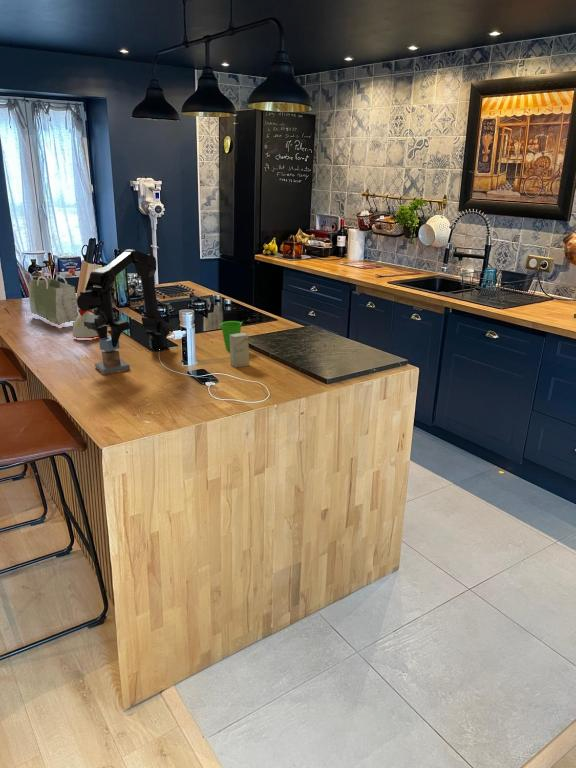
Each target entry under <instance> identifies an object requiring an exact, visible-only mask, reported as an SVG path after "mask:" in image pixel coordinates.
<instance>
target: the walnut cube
mask: <svg viewBox="0 0 576 768" xmlns="http://www.w3.org/2000/svg"><path fill="white" fill-rule="evenodd" d="M101 356H102V362H103V364H104V365H106V366H107V367H110V366H115V365H120V358H121V357H120V352H119V350H118V349H115V350H112V351H105V350H101Z"/></svg>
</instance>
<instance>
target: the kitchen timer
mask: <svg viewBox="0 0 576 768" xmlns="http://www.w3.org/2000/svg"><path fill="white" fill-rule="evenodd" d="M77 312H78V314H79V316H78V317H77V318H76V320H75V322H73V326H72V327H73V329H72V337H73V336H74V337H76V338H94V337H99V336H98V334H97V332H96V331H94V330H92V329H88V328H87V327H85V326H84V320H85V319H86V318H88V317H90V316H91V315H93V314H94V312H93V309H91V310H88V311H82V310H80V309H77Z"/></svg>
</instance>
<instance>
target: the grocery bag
mask: <svg viewBox="0 0 576 768" xmlns="http://www.w3.org/2000/svg"><path fill="white" fill-rule="evenodd" d="M58 278H61V279H63V281H64V282H61V281H59V280H58ZM40 279H41V280H40ZM28 281H29V282H28V297H29V306H30V307H29V308H30V312H31V314H32V313H34V314H37V315H39V316H41V317H43V318H46V319H47V320H49V321H50V322H53V323H55V324H58V325H60V324H62V323H65V322H70V321H75V320H76V318H77V317H78V316H79V314H80V313H79V311H78V305H77V299H78V298H77V294H76V293H77V292H76V287H75V286H74V285H71V284H68V281H67V280H66V279H65V277H64V276H63V275H60V274H57V275H56V276H55V279H54V278H49V277H45V276H43V275H40V276H38V278H37V279H30V278H29V280H28Z"/></svg>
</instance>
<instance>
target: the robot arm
mask: <svg viewBox="0 0 576 768" xmlns="http://www.w3.org/2000/svg"><path fill="white" fill-rule="evenodd" d="M130 265H134V266H133V267H134V268H135V272H136V273H137V274H138V276H139V277H140V279H141V280H140V281H141V287H142V288H141V289H142V295H143V302H144V308H145V314H144V315H143V316H141V322H142V327H143V330H145V335H147V336H149V338H148V341H149V342H148V343H149V345H148V346H149V347H150V348H151V349H150V348H149V349H150V350H152V351H153V352H159V351H158V350H159V349H161V350H160V351H164V349H165V350H168V349H170V347H169V346H168V338H167V337H168V335H170V332H171V330H170V329H171V328H169V327H168V325H167V324H166V323H165V321H164V316H162V314H161V312H160V311H159V307H158V300H157V293H156V291H157V290H156V286H155V278H154V276H155V273H156V271H157V259H156V257H155V256H154V255H153V254H147V253H143V252H140V251H138V250H136V249H125V250H123V252H122V253H121V254H120V255H119V256H117V257H116V258H114V259H113V260H112V261H110V263H108V264H107V265H106V266H103V267H98V268H96V269H93V270H92V271H91V272H90V274H89V277H88V280H87V283H86V286H85V289H84V291H80V292H79V295H78V297H77V298H76V299H77V308H78V310H82V311H88V310H91V309H92V310H93V315H91V316H90V317H88V318H86V319H85V320H84V326H85V327H87V328H88V329H92V330H94V331H96V332H97V334H98V336H99V338H100V339H101V338H105V337H108V334H109V336H111V339H112V344H113V347H116V346H117V343H118V340H119V341H120V338H121V335H122V333H123V331H124V332H125V331H127V330H130V329H131V324H130V322H129V320H128V321H126V320H119V321H118V319H117V317H115V314H114V311H116V306H113V297H112V292H115V291H116V289H115V288H113V287H112V284H114V282H115V281H116V277H117V275H119V274H120V273H121V272H123V271H124V270H125V269H126V268H128V267H129V266H130ZM108 328H110V330H108Z"/></svg>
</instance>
